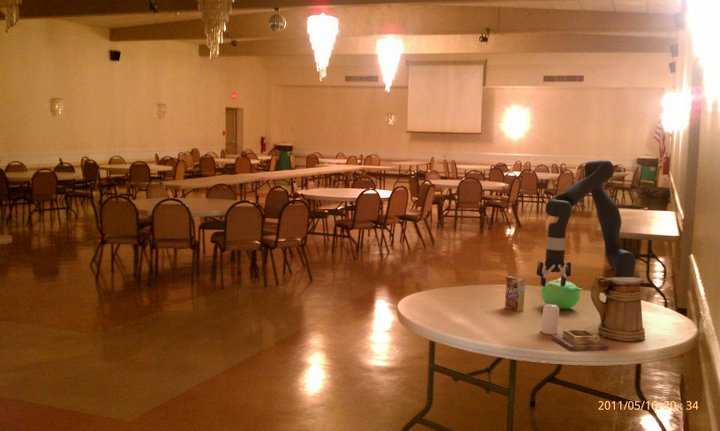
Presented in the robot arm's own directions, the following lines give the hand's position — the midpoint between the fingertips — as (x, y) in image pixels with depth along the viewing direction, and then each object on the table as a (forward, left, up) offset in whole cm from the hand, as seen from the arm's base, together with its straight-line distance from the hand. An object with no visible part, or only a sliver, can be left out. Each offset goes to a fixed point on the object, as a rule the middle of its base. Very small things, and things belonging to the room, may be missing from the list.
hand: (552, 286), depth 292 cm
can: (0, 0, -20) cm, 20 cm away
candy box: (-1, -39, -20) cm, 44 cm away
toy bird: (-25, -40, -20) cm, 51 cm away
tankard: (-27, +6, -20) cm, 34 cm away
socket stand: (-5, +16, -20) cm, 26 cm away
